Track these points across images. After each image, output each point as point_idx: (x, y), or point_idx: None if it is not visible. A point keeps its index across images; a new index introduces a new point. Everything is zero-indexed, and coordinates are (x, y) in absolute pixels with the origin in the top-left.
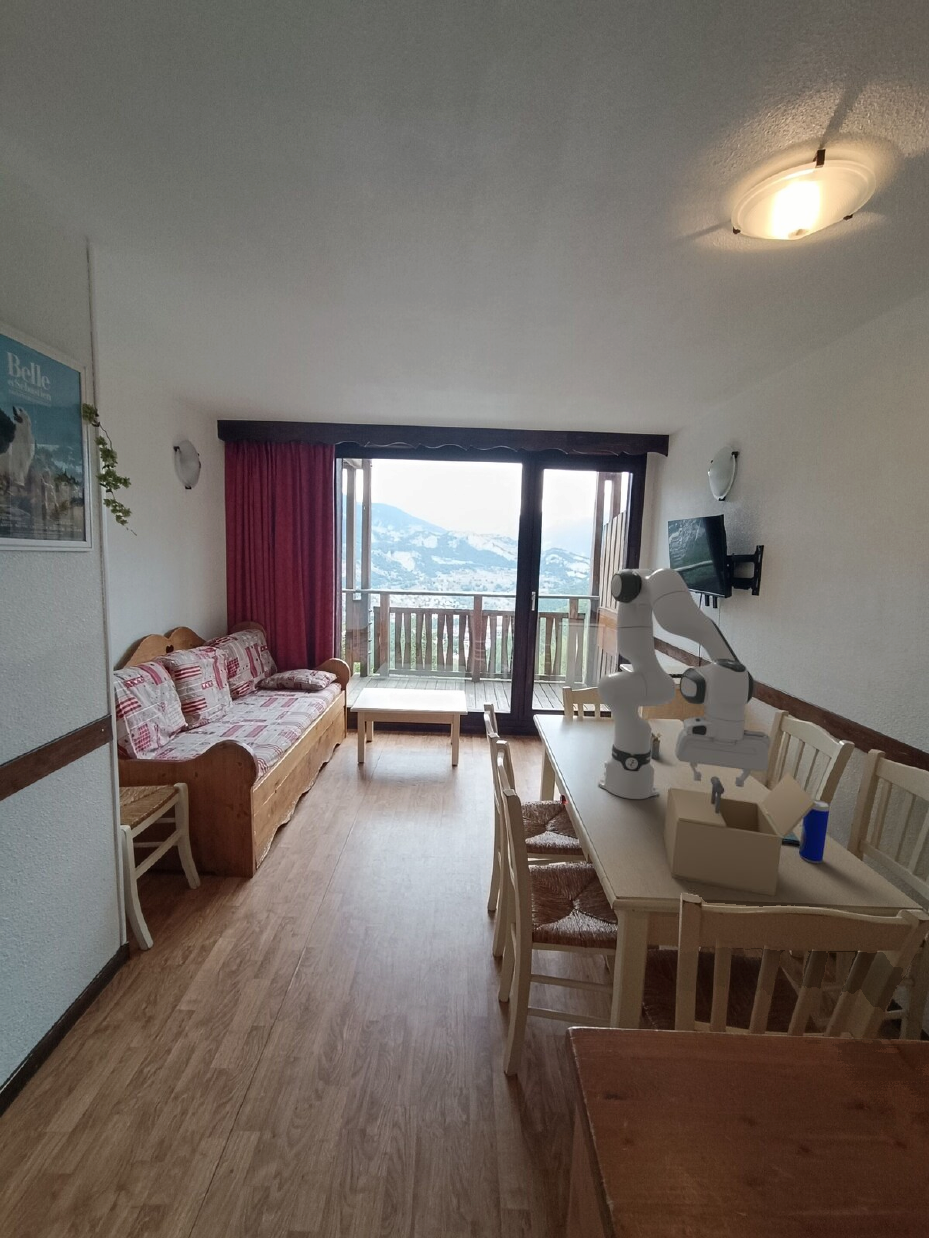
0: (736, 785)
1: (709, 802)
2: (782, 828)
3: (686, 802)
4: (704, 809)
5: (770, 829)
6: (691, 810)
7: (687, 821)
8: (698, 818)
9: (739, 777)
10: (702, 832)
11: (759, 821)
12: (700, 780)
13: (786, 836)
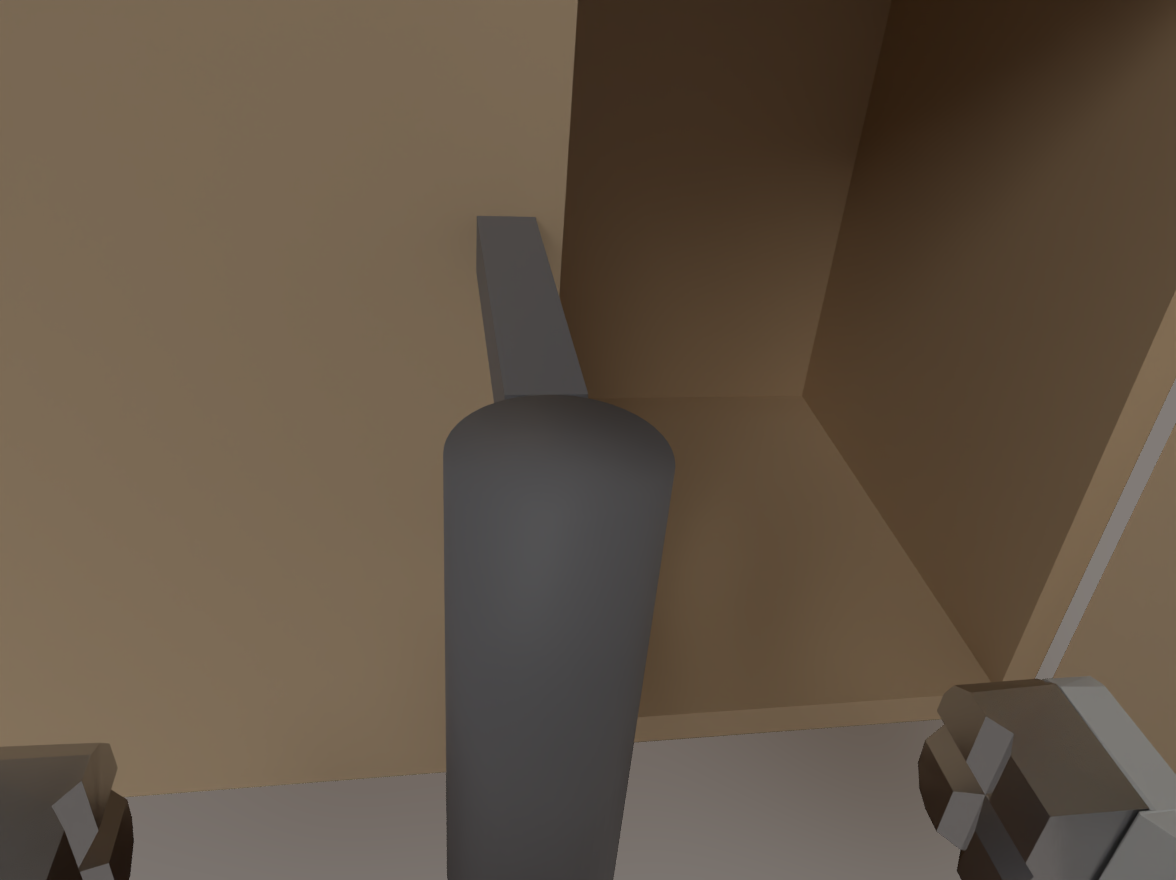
0: (925, 766)
1: (452, 232)
2: (1112, 661)
3: (41, 376)
4: (331, 508)
5: (1041, 501)
6: (138, 600)
7: None
8: (230, 749)
9: (1131, 810)
10: None
11: (1131, 56)
12: (121, 862)
13: None
